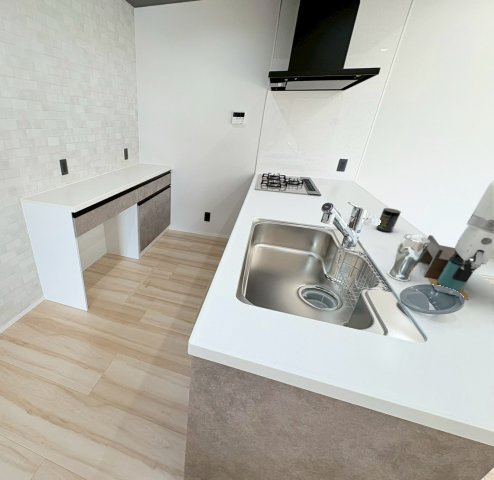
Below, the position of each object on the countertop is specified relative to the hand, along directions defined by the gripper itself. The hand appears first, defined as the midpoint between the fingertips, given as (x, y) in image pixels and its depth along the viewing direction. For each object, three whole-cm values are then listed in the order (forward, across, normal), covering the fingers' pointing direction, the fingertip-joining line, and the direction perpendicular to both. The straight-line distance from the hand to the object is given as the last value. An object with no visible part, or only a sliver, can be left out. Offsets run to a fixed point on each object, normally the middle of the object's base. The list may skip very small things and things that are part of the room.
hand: (455, 274), depth 83 cm
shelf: (+6, +12, 0) cm, 13 cm away
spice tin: (+4, 0, 0) cm, 4 cm away
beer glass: (+6, 0, +13) cm, 14 cm away
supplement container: (+6, +49, +13) cm, 51 cm away
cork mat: (+6, 0, 0) cm, 6 cm away
